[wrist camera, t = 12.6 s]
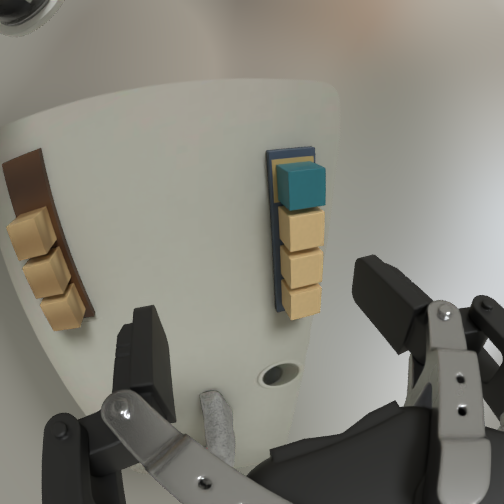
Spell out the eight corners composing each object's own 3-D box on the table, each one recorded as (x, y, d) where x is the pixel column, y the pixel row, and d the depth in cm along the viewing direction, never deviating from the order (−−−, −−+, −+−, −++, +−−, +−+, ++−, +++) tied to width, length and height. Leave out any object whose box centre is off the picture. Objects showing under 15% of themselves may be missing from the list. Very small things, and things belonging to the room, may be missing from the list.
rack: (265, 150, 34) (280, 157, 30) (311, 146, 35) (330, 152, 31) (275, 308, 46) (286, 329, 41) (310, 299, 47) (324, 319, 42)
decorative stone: (192, 392, 51) (204, 461, 38) (222, 385, 52) (240, 453, 39) (207, 418, 56) (220, 477, 43) (233, 411, 57) (250, 470, 44)
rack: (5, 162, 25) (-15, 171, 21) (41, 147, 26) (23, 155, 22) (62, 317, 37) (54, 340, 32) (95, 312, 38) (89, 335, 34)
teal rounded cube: (275, 164, 34) (288, 171, 30) (310, 160, 35) (325, 167, 31) (277, 200, 36) (289, 211, 33) (311, 195, 37) (325, 205, 33)
